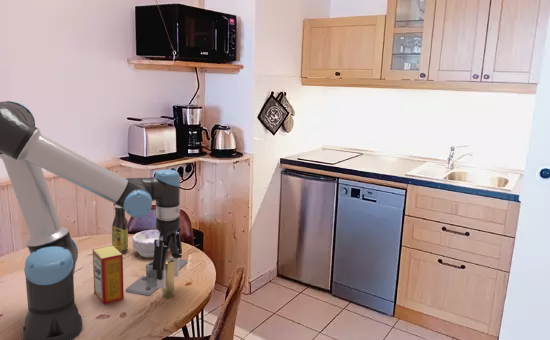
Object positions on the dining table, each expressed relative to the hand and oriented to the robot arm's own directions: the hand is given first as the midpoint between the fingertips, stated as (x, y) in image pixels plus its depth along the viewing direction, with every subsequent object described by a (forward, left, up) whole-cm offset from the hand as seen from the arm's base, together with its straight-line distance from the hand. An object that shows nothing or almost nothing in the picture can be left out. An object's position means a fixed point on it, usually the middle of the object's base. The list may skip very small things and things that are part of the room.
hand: (168, 281), depth 147 cm
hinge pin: (0, 0, -5) cm, 5 cm away
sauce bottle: (+27, +36, -5) cm, 45 cm away
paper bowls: (+30, +23, -5) cm, 38 cm away
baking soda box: (-7, +18, -5) cm, 20 cm away
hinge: (+12, +10, -5) cm, 16 cm away
